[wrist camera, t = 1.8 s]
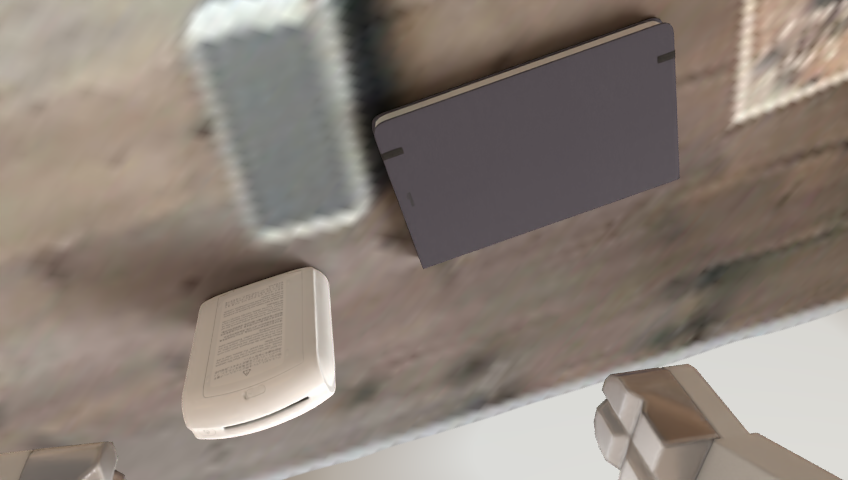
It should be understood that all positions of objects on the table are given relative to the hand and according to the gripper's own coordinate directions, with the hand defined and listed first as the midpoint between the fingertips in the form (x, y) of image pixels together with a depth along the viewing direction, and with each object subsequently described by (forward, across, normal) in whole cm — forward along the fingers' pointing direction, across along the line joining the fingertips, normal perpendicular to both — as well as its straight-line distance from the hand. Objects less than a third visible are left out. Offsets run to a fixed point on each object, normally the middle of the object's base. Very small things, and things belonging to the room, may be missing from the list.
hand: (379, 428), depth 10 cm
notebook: (+32, -16, +10) cm, 37 cm away
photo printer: (+33, +4, +22) cm, 40 cm away
